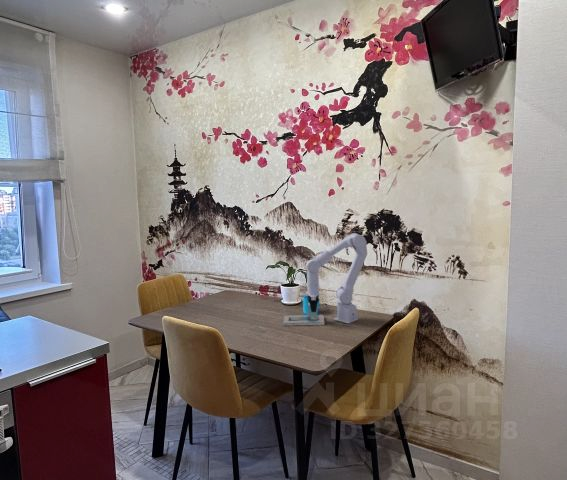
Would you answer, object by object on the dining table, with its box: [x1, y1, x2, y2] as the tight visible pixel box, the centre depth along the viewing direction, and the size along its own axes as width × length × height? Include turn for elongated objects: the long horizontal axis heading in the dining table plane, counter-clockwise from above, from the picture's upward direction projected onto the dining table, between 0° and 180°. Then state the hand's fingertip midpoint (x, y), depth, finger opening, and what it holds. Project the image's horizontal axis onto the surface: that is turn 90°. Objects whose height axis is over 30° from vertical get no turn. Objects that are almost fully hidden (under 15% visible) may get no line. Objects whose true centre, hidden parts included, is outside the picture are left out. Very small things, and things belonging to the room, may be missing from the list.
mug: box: [302, 295, 320, 315], centre depth 217 cm, size 12×8×8 cm
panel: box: [283, 314, 325, 327], centre depth 200 cm, size 20×11×2 cm, turn 87°
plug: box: [308, 303, 318, 317], centre depth 199 cm, size 4×4×7 cm
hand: (313, 310), depth 200 cm, fingers closed on plug, 4 cm apart
